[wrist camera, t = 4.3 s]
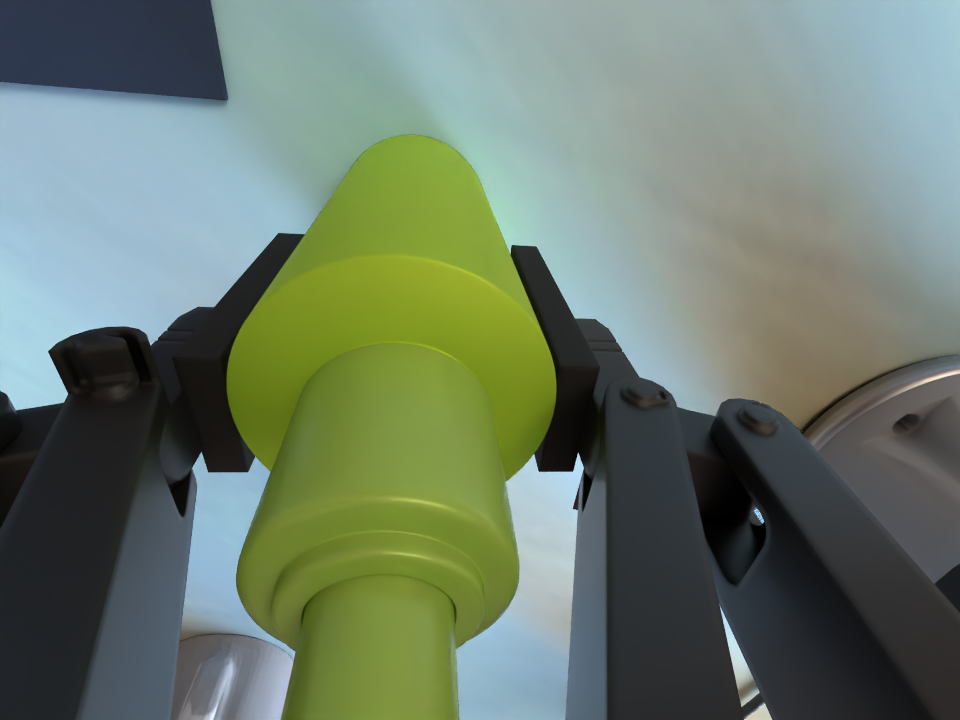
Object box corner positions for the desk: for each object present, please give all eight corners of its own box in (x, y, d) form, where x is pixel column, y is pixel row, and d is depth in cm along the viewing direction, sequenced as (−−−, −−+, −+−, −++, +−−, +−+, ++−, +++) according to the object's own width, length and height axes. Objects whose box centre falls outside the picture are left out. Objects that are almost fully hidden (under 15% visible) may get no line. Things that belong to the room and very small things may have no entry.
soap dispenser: (418, 318, 22) (390, 1119, 5) (310, 195, 19) (-629, 1304, 2) (524, 246, 21) (921, 1032, 4) (428, 99, 17) (417, 1167, 1)
